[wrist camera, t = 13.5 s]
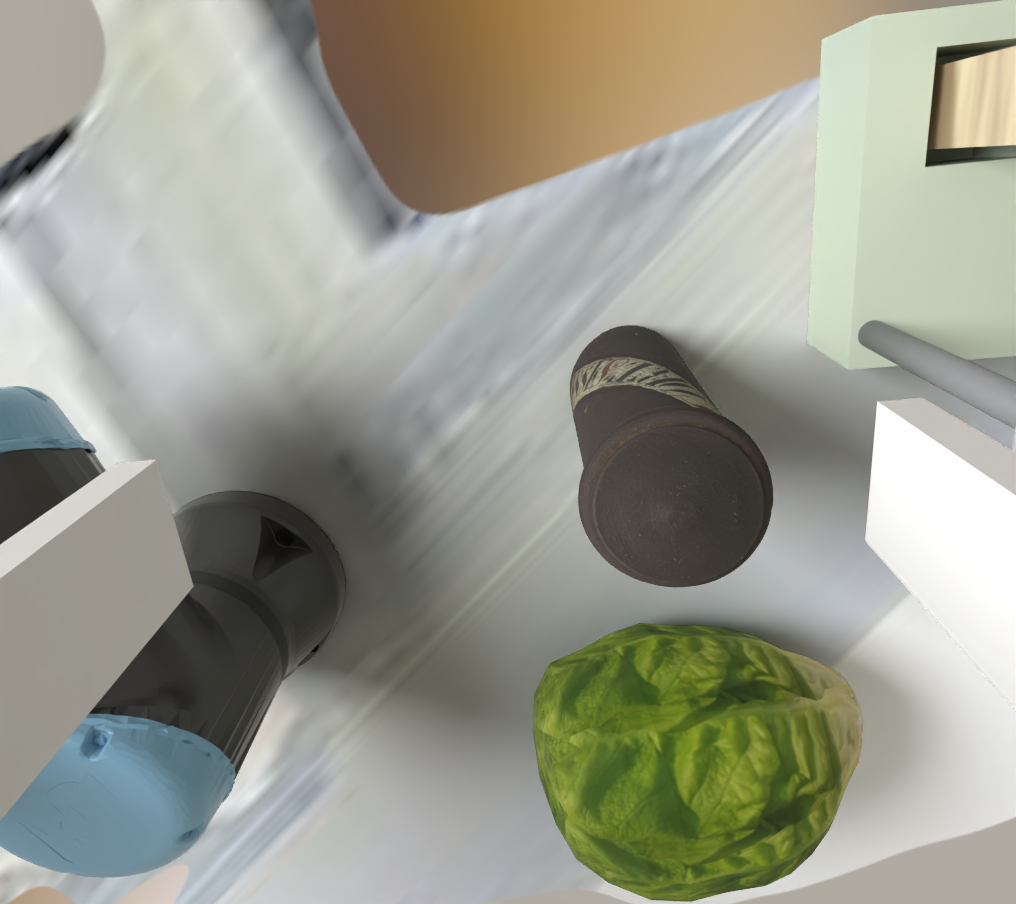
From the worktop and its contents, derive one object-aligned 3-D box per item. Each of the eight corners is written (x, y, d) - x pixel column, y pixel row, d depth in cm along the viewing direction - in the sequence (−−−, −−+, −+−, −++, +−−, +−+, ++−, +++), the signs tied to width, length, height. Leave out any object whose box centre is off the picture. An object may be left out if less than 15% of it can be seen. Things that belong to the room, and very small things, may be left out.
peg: (889, 151, 43) (1040, 143, 30) (895, 76, 42) (1057, 35, 29) (959, 143, 43) (1141, 133, 30) (968, 68, 42) (1163, 23, 29)
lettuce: (882, 854, 54) (997, 814, 39) (580, 941, 53) (577, 936, 38) (775, 629, 65) (833, 528, 49) (520, 697, 63) (499, 615, 48)
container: (674, 305, 48) (759, 392, 30) (704, 428, 51) (798, 575, 33) (549, 344, 49) (556, 450, 31) (585, 461, 52) (611, 621, 34)
